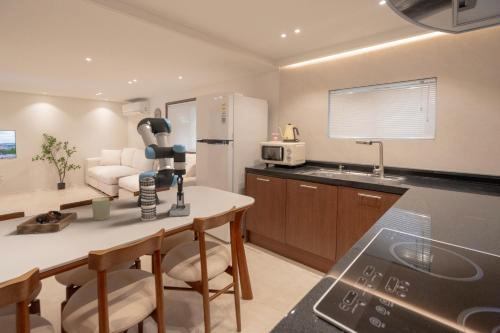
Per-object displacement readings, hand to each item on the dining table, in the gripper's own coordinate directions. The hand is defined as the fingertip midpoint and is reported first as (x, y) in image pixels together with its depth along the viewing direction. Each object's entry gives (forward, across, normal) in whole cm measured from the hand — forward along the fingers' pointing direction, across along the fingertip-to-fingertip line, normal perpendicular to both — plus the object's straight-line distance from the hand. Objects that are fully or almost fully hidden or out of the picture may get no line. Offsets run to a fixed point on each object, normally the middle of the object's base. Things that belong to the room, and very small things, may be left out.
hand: (180, 204), depth 171 cm
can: (+6, -4, +46) cm, 47 cm away
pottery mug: (+6, -11, +71) cm, 72 cm away
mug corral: (+5, -14, +69) cm, 71 cm away
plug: (0, 0, 0) cm, 0 cm away
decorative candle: (+6, -10, +18) cm, 21 cm away
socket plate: (+5, 0, 0) cm, 5 cm away
